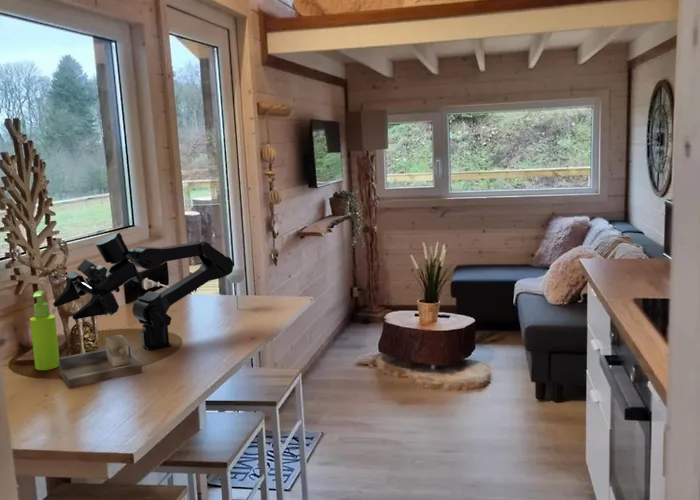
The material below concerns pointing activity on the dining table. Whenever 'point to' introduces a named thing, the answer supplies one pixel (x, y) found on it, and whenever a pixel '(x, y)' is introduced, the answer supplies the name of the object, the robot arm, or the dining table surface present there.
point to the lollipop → (236, 278)
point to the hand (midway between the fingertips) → (63, 311)
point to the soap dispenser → (44, 335)
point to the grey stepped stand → (94, 368)
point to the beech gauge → (117, 350)
